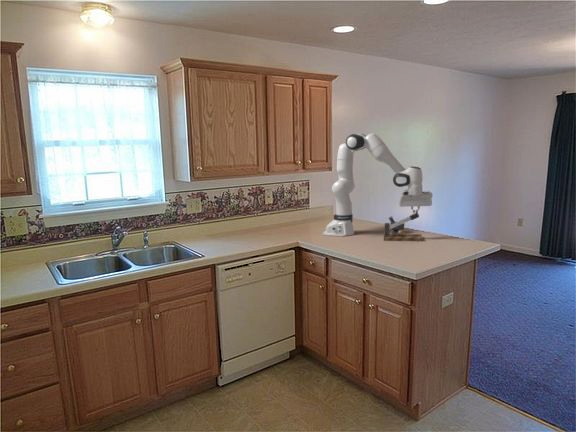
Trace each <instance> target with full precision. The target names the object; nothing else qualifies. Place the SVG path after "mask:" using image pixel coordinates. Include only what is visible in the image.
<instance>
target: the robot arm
mask: <svg viewBox="0 0 576 432" xmlns="http://www.w3.org/2000/svg"><path fill="white" fill-rule="evenodd" d="M364 149H367V150H368V152H369V153H370V154H371V156H372V157H373V158H374V159H375V160H377V161H378V162H381V163H384V164H385V165H388V166H389V167H390V169H391V170H392V171H393V172H394V173H395V174H394V175H393V178H392V182H393V184H394V185H395V186H396V187H398V188H403V187H407V189H405V190H402V191H401V193H400V197H399V203H398V205H399V207H410V208H411V210H412V214H415V213H418V214H419V210H420V209H421V207H431V206H432V205H433V199H432V198H433V193H432V192H431V191H429V190H428V191H423V171H422V168H420V167H419V166H409V167H408V168H405V167H403V165H402V164H401V163H400V162H399V160H397V158H396V157H395V155H394V154H393V153H392V152H391V150H390V149H389V147H388V146H387V145H386V143H385V142H384V141H383V140H382V139H381V137H380V136H379V135H377V134H376V133H373V132H372V133H369V134H367V135H366V134H364V133H352V134H350V135H348V136H347V137H346V139H345V143H341V144H340V145H339V147H338V151H337V155H336V158H337V159H336V172H337V177H338V180H336V181H335V182H334V183H333V184H332V186H331V192H332V193H333V195H334V200H335V211H336V212H335V213H333V219H332V220H331V221H330V222H329V223H328V224H327V225H326V227H325V230H324V231H323V232H322V235H323V236H329V237H330V236H331V237H332V236H333V237H347V236H353V235H355V230H354V223H353V222H354V218H353V217H354V215H353V204H352V201H351V197H350V194H351V193H352V192H353V191H354V189H355V187H356V186H355V181H354V174H353V172H354V171H353V166H354V153H355V152H357V151H362V150H364ZM414 207H417V209H416V210H415V209H414Z"/></svg>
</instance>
